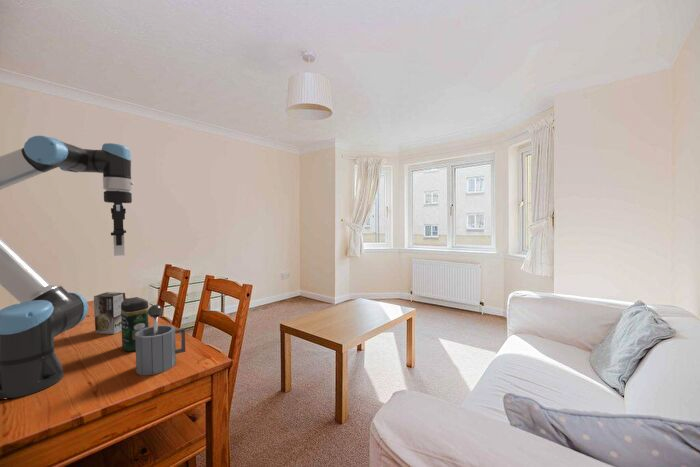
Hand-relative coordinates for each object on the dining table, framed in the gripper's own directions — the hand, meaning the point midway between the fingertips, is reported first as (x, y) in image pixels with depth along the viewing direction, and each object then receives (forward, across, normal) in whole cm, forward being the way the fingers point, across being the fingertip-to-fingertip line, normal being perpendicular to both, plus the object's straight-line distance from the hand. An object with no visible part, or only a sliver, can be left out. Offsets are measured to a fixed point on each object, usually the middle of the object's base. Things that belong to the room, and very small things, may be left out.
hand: (119, 253), depth 102 cm
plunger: (+33, -14, -9) cm, 37 cm away
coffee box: (+37, +33, +4) cm, 50 cm away
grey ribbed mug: (+37, -14, -11) cm, 41 cm away
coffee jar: (+37, +8, -4) cm, 38 cm away
